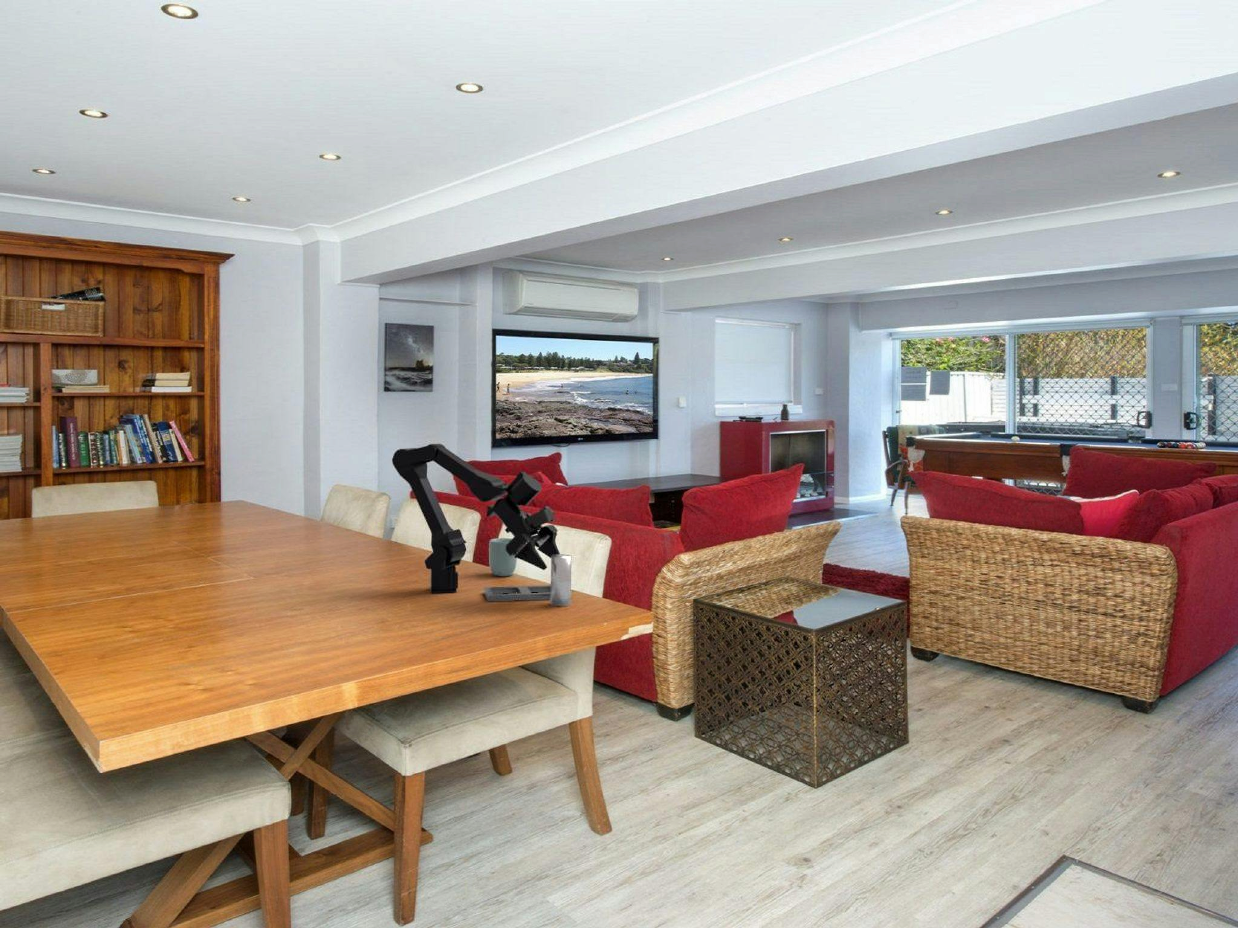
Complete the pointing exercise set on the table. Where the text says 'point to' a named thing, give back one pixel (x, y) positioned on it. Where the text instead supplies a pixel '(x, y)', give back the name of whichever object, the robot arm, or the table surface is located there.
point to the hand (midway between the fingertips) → (553, 565)
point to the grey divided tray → (521, 594)
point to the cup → (501, 557)
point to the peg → (560, 580)
